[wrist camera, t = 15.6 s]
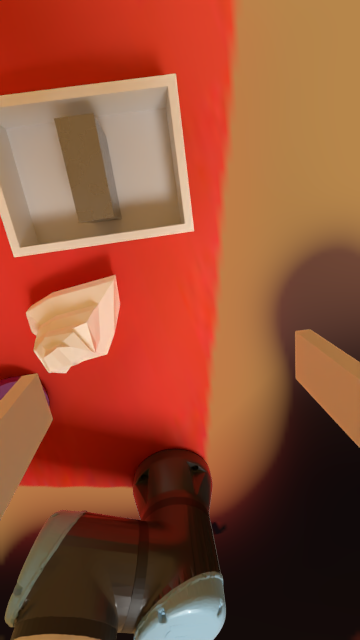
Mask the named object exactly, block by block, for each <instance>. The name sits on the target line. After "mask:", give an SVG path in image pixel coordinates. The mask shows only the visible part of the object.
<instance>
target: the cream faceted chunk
mask: <svg viewBox="0 0 360 640" xmlns="http://www.w3.org/2000/svg"><path fill="white" fill-rule="evenodd" d="M119 309H120V300H119V294H118V288H117V281H116V275H113V276H109V277H105V278H102V279H98V280H95V281H91V282H88V283H84V284H81V285H77V286H73V287H70V288H66V289H63V290H59V291H56V292H53V293H51V294H49V295H48V296H46V297H45V298H43V299H41V300H40V301H38V302H37V303H35V304H33V305H32V306H30V308H29V309H28V310H27V312H26V315H27V319H28V322H29V325H30V328H31V331H32V333H33V334H35V335H36V340H35V345H34V350H33V351H34V352H35V354H36V355H37V357H38V358H39V359H40V361H41V362H42V364H43V365H44V367H45V368H46V370H47V371H48V372H49V373H52V372H54V373H67V371H68V370H69V369H70V367H71V366H74V365H76V364H79V363H80V362H82V361H86V360H89V359H93V358H96V357H100V356H103V355H107V354H108V351H109V348H110V345H111V342H112V339H113V337H114V334H115V329H116V324H117V319H118V314H119Z"/></svg>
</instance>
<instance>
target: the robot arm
mask: <svg viewBox="0 0 360 640" xmlns="http://www.w3.org/2000/svg"><path fill="white" fill-rule="evenodd" d="M295 359H296V361H295V363H296V364H295V365H296V366H295V368H296V379H297V380H298V381H299V383H300V384H301V385H302V386H303V387H304V388H305V389H306V390H307V391H308V392H309V393H310V395H311V396H312V397H313V398H314V399H315V400H316V401H317V402H318V403H319V404H320V405H321V406H322V407H323V408H324V410H325V411H326V412H327V413H328V414H329V415H330V416H331V417H332V418H333V419H334V420H335V422H336V423H337V424H338V425H339V426H340V427H341V428H342V429H343V430H344V431H345V432H346V433H347V434H348V435H349V437H350V438H351V439H352V440H353V441H354V442H355V443H356V444H357V445H358V446H359V447H360V362H358V361H357V360H355V359H354V358H352V357H351V356H349V355H348V354H346V353H345V352H343V351H342V350H340V349H339V348H337V347H336V346H334V345H333V344H331V343H330V342H328V341H327V340H325V339H324V338H322V337H321V336H319V335H318V334H316V333H315V332H313V331H312V330H310V329H308V330H301V331H296V332H295ZM52 420H53V417H52V414H51V411H50V408H49V406H48V403H47V400H46V397H45V394H44V391H43V388H42V385H41V382H40V379H39V376H38V373H36V374H30V375H24V376H21V378H20V379H19V380H18V381H17V382H16V383H15V384H14V385H13V387H12V388H11V389H10V390H9V391H8V392H7V393H6V395H5V396H4V397H3V398H2V399H1V400H0V520H1V518H2V516H3V514H4V512H5V510H6V508H7V507H8V505H9V502H10V501H11V499H12V497H13V495H14V493H15V491H16V489H17V487H18V485H19V484H20V482H21V480H22V478H23V476H24V474H25V472H26V470H27V468H28V466H29V464H30V463H31V461H32V459H33V457H34V455H35V453H36V451H37V449H38V447H39V445H40V443H41V441H42V440H43V438H44V436H45V434H46V432H47V430H48V428H49V426H50V424H51V422H52ZM211 494H212V478H211V474H210V470H209V467H208V465H207V463H206V462H205V461H204V460H203V459H202V458H201V457H200V456H198V455H197V454H195V453H193V452H190V451H187V450H181V449H169V450H164V451H160V452H157V453H155V454H153V455H151V456H149V457H148V458H146V459H145V460H144V461H143V462H142V463H141V464H140V465H139V467H138V468H137V470H136V472H135V475H134V482H133V495H134V499H135V503H136V506H137V509H138V513H139V516H140V520H136V519H129V518H122V517H115V516H108V515H102V514H96V513H90V512H87V511H81V512H76V511H66V510H62V511H58V512H56V513H54V514H53V515H52V516H51V517H50V518H49V519H48V520H47V522H46V523H45V525H44V526H43V528H42V529H41V531H40V533H39V535H38V537H37V539H36V541H35V543H34V545H33V547H32V549H31V551H30V553H29V555H28V557H27V560H26V562H25V564H24V566H23V568H22V571H21V573H20V576H19V578H18V580H17V585H16V586H15V589H14V592H13V594H12V596H11V598H10V601H9V604H8V607H7V610H6V614H5V621H6V623H7V624H9V626H10V627H13V626H15V628H14V631H13V634H12V638H11V640H116V636H117V632H121V633H134V640H213V639H214V638H215V637H216V636H217V634H218V633H219V631H220V630H221V628H222V626H223V623H224V620H225V614H226V606H225V599H224V591H223V577H222V575H221V573H220V568H219V563H218V557H217V553H216V547H215V542H214V537H213V532H212V527H211V522H210V518H209V509H210V502H211Z"/></svg>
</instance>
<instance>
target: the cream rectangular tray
mask: <svg viewBox="0 0 360 640" xmlns="http://www.w3.org/2000/svg"><path fill="white" fill-rule="evenodd" d="M91 113H94V115H95V117H96V119H97V120H98V122H99V124H100V126H101V128H102V130H103V131H104V133H105V135H106V138H107V143H108V148H109V154H110V159H111V164H112V169H113V175H114V180H115V185H116V190H117V195H118V201H119V206H120V211H121V216H122V219H117V220H111V221H104V222H97V223H81V222H79V221H78V217H77V213H76V209H75V205H74V200H73V196H72V192H71V188H70V184H69V179H68V175H67V171H66V167H65V163H64V158H63V154H62V150H61V146H60V142H59V138H58V133H57V129H56V125H55V121H54V118H61V117H68V116H76V115H84V114H91ZM0 215H1V218H2V221H3V224H4V228H5V231H6V234H7V237H8V240H9V243H10V246H11V250H12V253H13V256H14V257H20V256H27V255H34V254H41V253H48V252H55V251H61V250H68V249H75V248H82V247H89V246H95V245H102V244H109V243H116V242H123V241H130V240H136V239H143V238H150V237H157V236H164V235H170V234H177V233H184V232H191V231H194V226H193V217H192V208H191V200H190V191H189V183H188V174H187V165H186V157H185V148H184V139H183V131H182V122H181V114H180V105H179V96H178V88H177V79H176V73H175V74H167V75H159V76H151V77H144V78H136V79H128V80H120V81H112V82H104V83H96V84H88V85H80V86H72V87H64V88H56V89H48V90H40V91H32V92H24V93H16V94H8V95H0Z"/></svg>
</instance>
